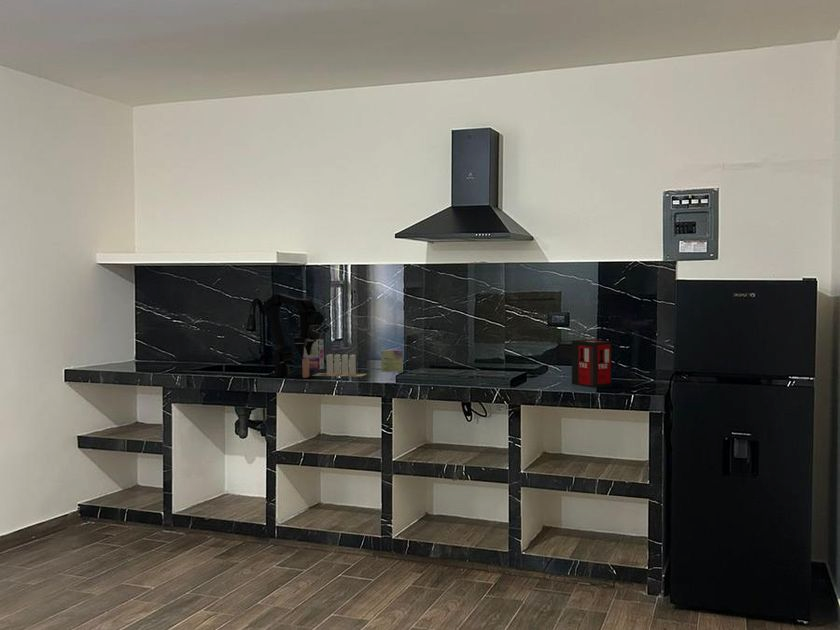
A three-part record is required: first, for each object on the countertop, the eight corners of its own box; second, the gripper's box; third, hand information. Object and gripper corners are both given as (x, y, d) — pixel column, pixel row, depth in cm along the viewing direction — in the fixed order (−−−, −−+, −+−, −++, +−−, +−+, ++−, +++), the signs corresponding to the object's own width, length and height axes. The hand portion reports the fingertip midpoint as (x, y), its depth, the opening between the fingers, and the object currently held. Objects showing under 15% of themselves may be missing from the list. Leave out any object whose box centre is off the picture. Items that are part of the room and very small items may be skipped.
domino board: (311, 377, 410) (311, 375, 410) (318, 375, 420) (318, 373, 420) (361, 378, 404) (361, 376, 404) (367, 375, 414) (367, 373, 414)
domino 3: (334, 375, 410) (334, 355, 410) (337, 374, 415) (337, 354, 414) (337, 375, 410) (337, 355, 409) (340, 374, 415) (340, 354, 414)
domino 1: (302, 379, 403) (302, 359, 403) (306, 378, 408) (305, 358, 408) (305, 379, 403) (305, 359, 402) (309, 378, 408) (308, 358, 407)
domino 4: (342, 375, 409) (341, 355, 409) (345, 374, 414) (344, 354, 414) (345, 375, 409) (344, 355, 408) (348, 374, 414) (347, 354, 413)
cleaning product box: (571, 383, 377) (571, 340, 376) (586, 382, 382) (586, 339, 380) (596, 388, 363) (596, 343, 362) (611, 386, 367) (611, 341, 366)
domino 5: (349, 375, 408) (349, 355, 408) (352, 374, 413) (352, 354, 413) (352, 375, 408) (352, 355, 407) (355, 374, 413) (355, 354, 412)
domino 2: (326, 375, 411) (326, 355, 410) (330, 373, 416) (329, 354, 415) (329, 375, 411) (329, 355, 410) (333, 374, 415) (332, 354, 415)
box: (401, 371, 430) (400, 349, 430) (402, 373, 425) (402, 350, 424) (381, 372, 429) (381, 349, 428) (382, 373, 423) (382, 350, 422)
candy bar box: (324, 369, 444) (324, 339, 443) (319, 370, 440) (318, 339, 439) (307, 368, 450) (307, 338, 449) (302, 369, 445) (301, 339, 444)
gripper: (314, 326, 393) (314, 358, 394) (326, 323, 411) (327, 354, 412) (292, 325, 396) (292, 358, 397) (305, 323, 414) (306, 354, 415)
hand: (305, 356), depth 405 cm, fingers open, 9 cm apart
